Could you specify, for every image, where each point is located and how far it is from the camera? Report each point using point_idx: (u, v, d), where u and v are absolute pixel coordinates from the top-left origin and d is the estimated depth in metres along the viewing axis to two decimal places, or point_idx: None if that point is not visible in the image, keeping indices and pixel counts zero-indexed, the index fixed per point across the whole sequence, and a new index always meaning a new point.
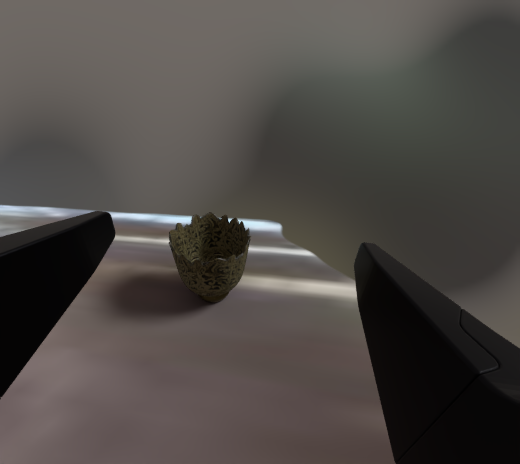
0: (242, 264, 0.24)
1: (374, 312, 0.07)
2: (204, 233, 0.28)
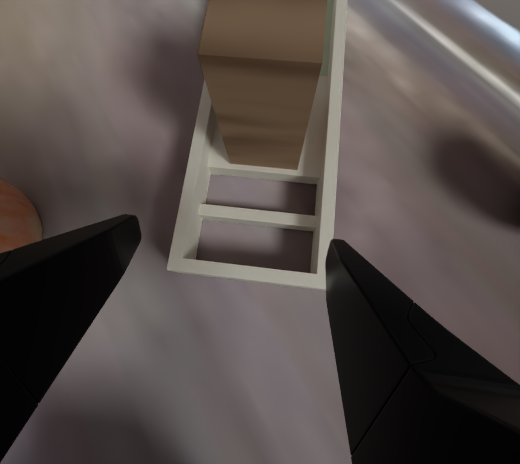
0: None
1: (338, 307, 0.07)
2: None
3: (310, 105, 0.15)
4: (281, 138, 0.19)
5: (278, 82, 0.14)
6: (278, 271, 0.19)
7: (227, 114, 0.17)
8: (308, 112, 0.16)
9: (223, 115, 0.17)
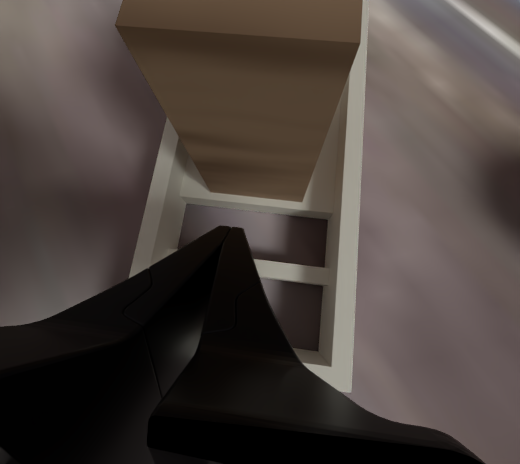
0: None
1: None
2: None
3: (328, 121, 0.09)
4: (280, 166, 0.12)
5: (273, 80, 0.08)
6: None
7: (194, 132, 0.11)
8: (324, 131, 0.10)
9: (189, 133, 0.11)
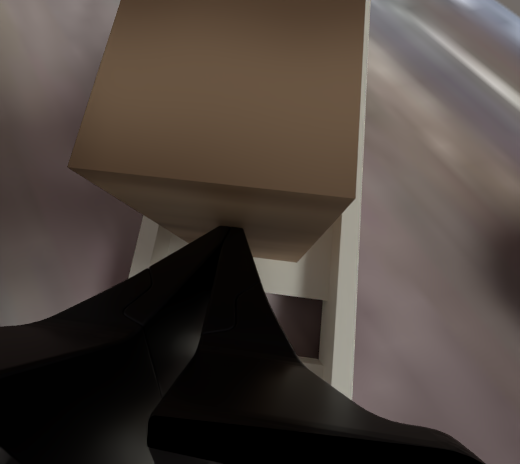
0: None
1: None
2: None
3: (321, 231, 0.08)
4: (271, 246, 0.12)
5: (256, 208, 0.07)
6: None
7: (175, 224, 0.10)
8: (317, 235, 0.09)
9: (170, 224, 0.10)
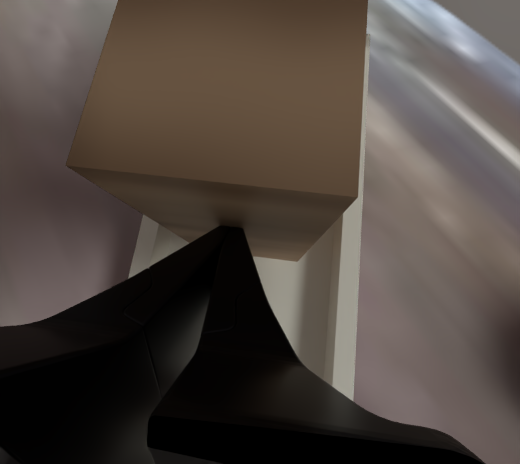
0: None
1: None
2: None
3: (322, 230, 0.08)
4: (271, 245, 0.11)
5: (257, 207, 0.07)
6: None
7: (175, 222, 0.10)
8: (318, 234, 0.08)
9: (169, 223, 0.10)
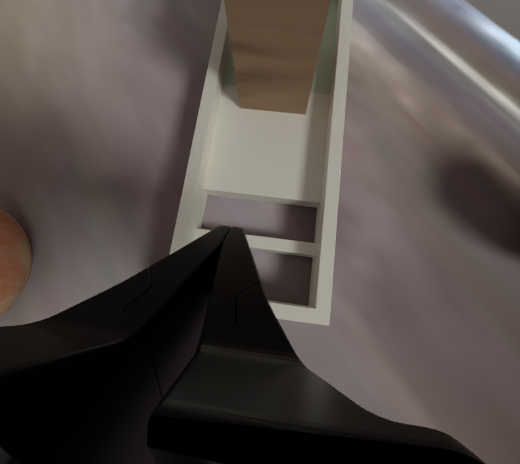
0: None
1: None
2: None
3: (322, 26, 0.16)
4: (292, 72, 0.19)
5: None
6: (275, 305, 0.18)
7: (242, 41, 0.17)
8: (320, 36, 0.16)
9: (238, 43, 0.18)
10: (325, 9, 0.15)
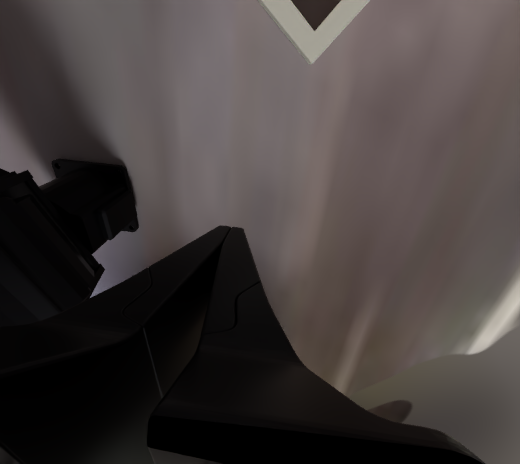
0: None
1: None
2: None
3: None
4: None
5: None
6: None
7: None
8: None
9: None
10: None
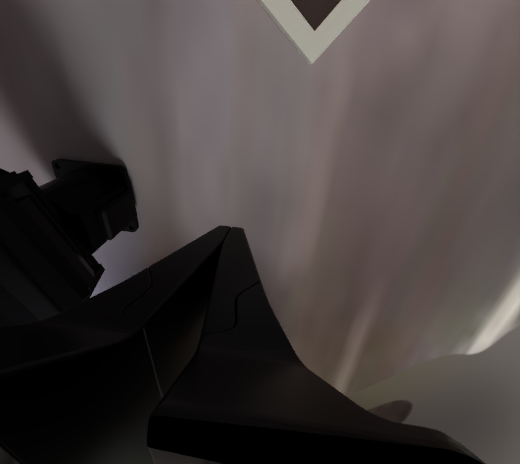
0: None
1: None
2: None
3: None
4: None
5: None
6: None
7: None
8: None
9: None
10: None
